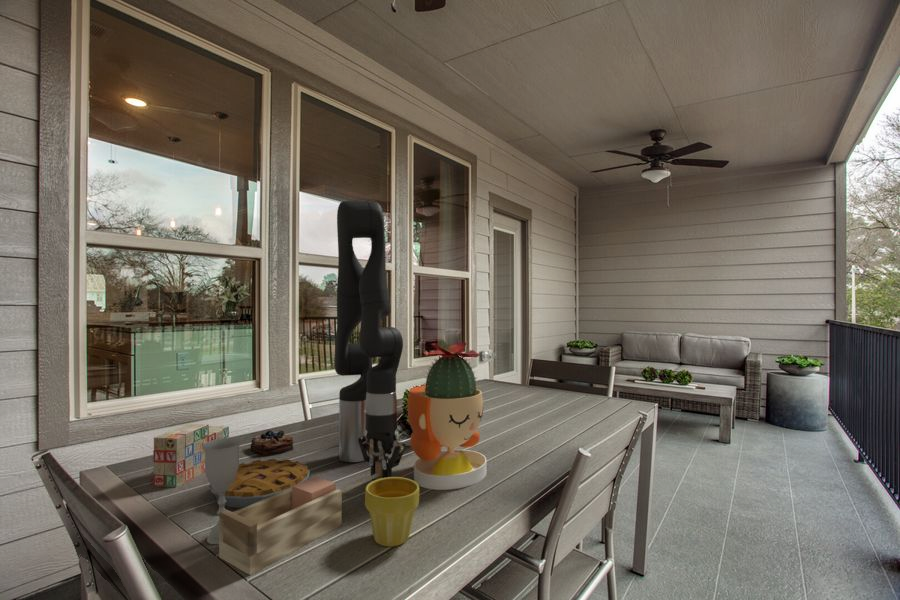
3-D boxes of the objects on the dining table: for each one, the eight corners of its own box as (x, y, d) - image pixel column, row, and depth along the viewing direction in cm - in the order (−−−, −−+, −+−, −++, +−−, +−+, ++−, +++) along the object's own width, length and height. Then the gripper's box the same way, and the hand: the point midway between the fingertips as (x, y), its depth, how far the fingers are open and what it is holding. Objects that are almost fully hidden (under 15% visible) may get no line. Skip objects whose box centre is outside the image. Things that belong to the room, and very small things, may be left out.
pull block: (375, 477, 110) (375, 452, 110) (394, 483, 106) (394, 457, 106) (292, 517, 89) (292, 486, 89) (311, 525, 86) (311, 493, 86)
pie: (263, 519, 93) (264, 495, 93) (187, 503, 100) (187, 481, 100) (327, 480, 113) (327, 461, 113) (259, 469, 121) (259, 451, 121)
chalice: (211, 528, 89) (212, 438, 89) (247, 526, 89) (247, 437, 90) (193, 548, 82) (194, 450, 82) (232, 546, 82) (232, 449, 82)
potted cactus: (501, 471, 119) (501, 341, 120) (444, 497, 103) (444, 346, 103) (443, 452, 134) (444, 336, 134) (385, 473, 118) (386, 341, 118)
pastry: (261, 459, 129) (261, 439, 129) (246, 449, 137) (246, 430, 137) (297, 450, 136) (297, 431, 137) (281, 441, 145) (281, 423, 145)
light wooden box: (310, 513, 95) (311, 475, 95) (341, 525, 90) (341, 485, 90) (219, 557, 79) (219, 511, 79) (250, 575, 73) (250, 526, 74)
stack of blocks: (209, 457, 130) (209, 415, 130) (229, 457, 130) (229, 415, 130) (152, 486, 109) (153, 436, 109) (176, 488, 108) (176, 437, 109)
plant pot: (420, 523, 91) (420, 475, 91) (418, 552, 80) (418, 497, 81) (369, 524, 90) (369, 476, 91) (360, 553, 80) (360, 498, 80)
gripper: (413, 411, 106) (413, 483, 106) (370, 403, 114) (370, 471, 114) (393, 417, 100) (392, 494, 100) (349, 409, 108) (348, 480, 108)
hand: (380, 481), depth 107 cm, fingers closed on pull block, 3 cm apart
